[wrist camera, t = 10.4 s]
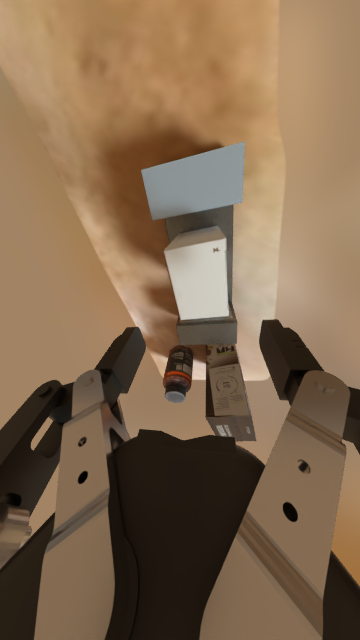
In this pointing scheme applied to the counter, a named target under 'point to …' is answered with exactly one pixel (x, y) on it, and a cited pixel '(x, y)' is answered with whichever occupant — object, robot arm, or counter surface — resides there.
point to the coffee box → (227, 394)
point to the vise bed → (226, 326)
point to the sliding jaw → (196, 182)
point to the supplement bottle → (178, 374)
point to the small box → (199, 273)
